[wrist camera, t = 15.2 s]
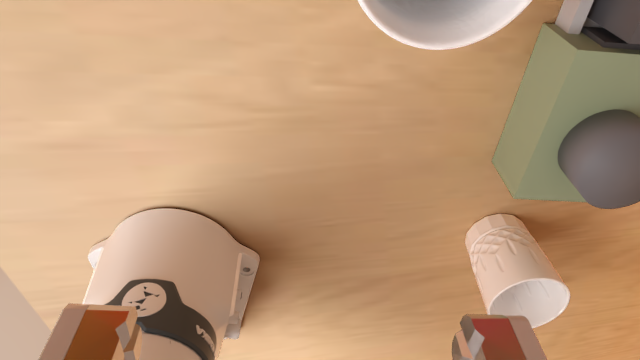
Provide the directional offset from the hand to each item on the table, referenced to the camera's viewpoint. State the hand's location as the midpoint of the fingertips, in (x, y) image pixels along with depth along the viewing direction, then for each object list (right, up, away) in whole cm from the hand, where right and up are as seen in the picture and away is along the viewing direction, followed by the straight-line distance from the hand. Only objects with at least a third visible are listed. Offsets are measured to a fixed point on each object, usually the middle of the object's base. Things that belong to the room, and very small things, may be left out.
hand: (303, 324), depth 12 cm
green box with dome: (+24, +15, +29) cm, 41 cm away
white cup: (+20, -3, +42) cm, 47 cm away
